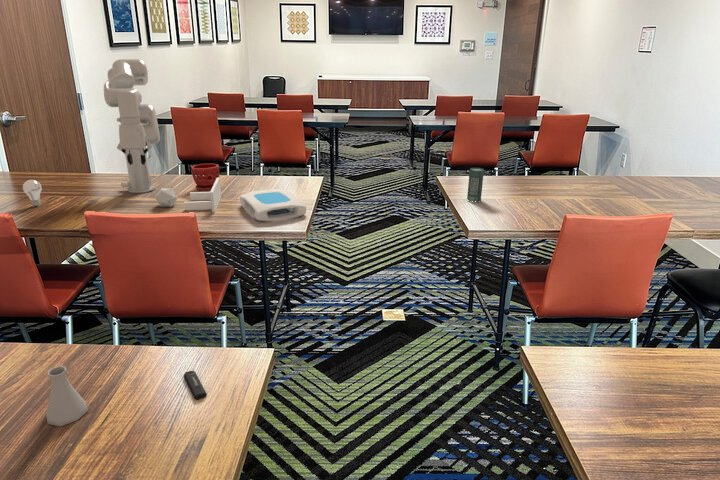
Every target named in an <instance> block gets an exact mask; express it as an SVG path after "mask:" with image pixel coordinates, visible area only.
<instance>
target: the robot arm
mask: <svg viewBox="0 0 720 480" xmlns="http://www.w3.org/2000/svg"><path fill="white" fill-rule="evenodd" d="M111 66H112V67H111V68H110V69H109V70H108V71H107V79H108V80H106V81H105V82H104V84H103V97H104V98H103V99H104V101H105V104H106V105H107V107H110V108H118V112H119V117H118V118H116V121H117V122H119V123H120V124H119V125H118V137H119V138H118V139H119V142H118V145H117V146H116V149H117V150H119V151H120V152H122V153H123V154H124V156H125V157H124V158H125V163H126V168H127V173H128V178H129V181H126V182H124V181H123V182H121V183H120V185H121V187H123V188H124V187H125V188H126V187H127V188H126V189H127V192H128V193H131V194H144V193H149V192H152V191H155V189H156V186H155V185H153V184H152V182H151V181H152V180H151V174H150V168H149V162H148V155H147V153H148V152H149V151H150V150H152V148H153V145H158V143H160V140H161V136H160V135H161V134H160V129H159V122H158V118H157V113H156V110H155V107H154V106H153V105H152V104H148V103H143V104H141V103H142V100H143V99H142V93H141V92H140V91H139V90H138V89H137V88H134V87H135V86H146V85H147V84H148V82H149V81H148V80H149V75H148V72H149V71H148V67H147V65H146V63H145V62H144V60H141V59H137V58H136V59H135V58H134V59H131V58H129V59H128V58H125V59H124V58H123V59H117V60H115V61H113V63H112V65H111Z"/></svg>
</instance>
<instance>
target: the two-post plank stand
mask: <svg viewBox="0 0 720 480" xmlns="http://www.w3.org/2000/svg"><path fill="white" fill-rule="evenodd" d="M220 180H221V178H220V176H219V178H217V179H216V181H215V183H214V185H213V187H212V189H211V191H194V192H193V191H192V192H189V198H190V201H184V202H183V203H184V204H183V205H184V210H185V211H200V210H201V211H205V210H211V213H216V211H217V207H218V206H219V203H220V202H221V197H222V190H221V189H222V188H221V186H222V185H221V181H220Z"/></svg>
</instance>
